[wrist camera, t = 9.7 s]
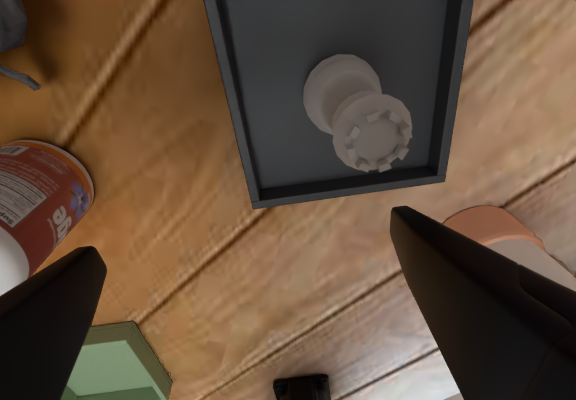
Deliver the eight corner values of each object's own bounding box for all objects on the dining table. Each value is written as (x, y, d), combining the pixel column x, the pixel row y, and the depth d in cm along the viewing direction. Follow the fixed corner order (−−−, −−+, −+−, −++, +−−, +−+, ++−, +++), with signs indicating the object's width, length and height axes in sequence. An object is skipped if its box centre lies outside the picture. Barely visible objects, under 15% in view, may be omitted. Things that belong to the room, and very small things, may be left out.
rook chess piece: (287, 103, 19) (298, 158, 12) (334, 34, 17) (377, 55, 10) (343, 141, 20) (380, 210, 14) (391, 83, 19) (462, 128, 12)
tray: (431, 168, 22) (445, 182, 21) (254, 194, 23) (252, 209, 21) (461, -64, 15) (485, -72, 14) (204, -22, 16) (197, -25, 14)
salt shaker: (523, 197, 24) (1040, 588, 8) (507, 263, 28) (832, 617, 12) (429, 215, 25) (738, 620, 8) (426, 278, 28) (633, 638, 12)
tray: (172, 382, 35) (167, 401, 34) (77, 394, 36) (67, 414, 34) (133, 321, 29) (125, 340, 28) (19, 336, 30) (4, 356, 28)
